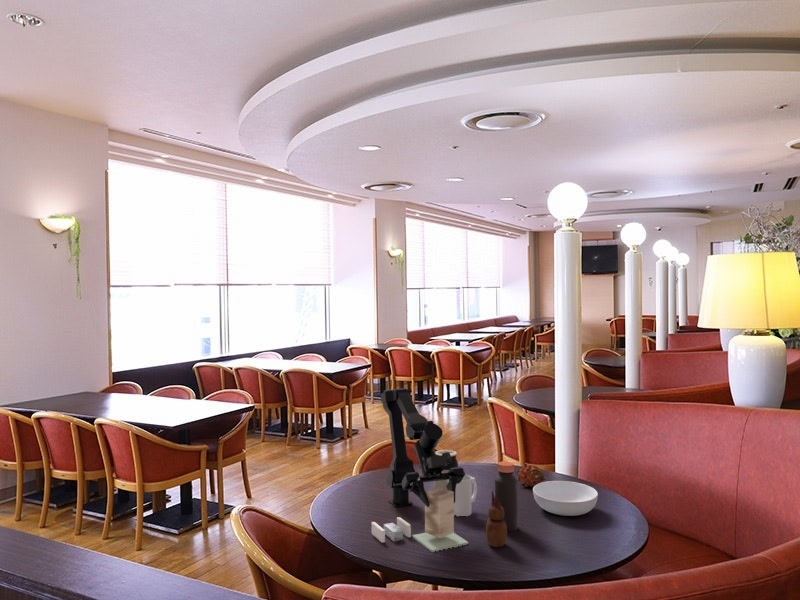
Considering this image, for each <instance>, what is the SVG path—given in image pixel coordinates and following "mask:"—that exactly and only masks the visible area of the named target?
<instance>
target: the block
mask: <svg viewBox="0 0 800 600" xmlns="http://www.w3.org/2000/svg"><path fill="white" fill-rule="evenodd" d="M425 492H426V495H427V498H428V501H429V507H427V506H426V505H425V504H424V533H428V534H430V535H433V536H436V537H438V538H442V537H444V536H447V535H449V534H451V533H455V515H454V492H452V491H449V490H446V489H443V488H440V487H438V488H435V487H434V488H432V489H430V490H427V491H426V490H425Z"/></svg>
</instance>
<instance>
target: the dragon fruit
mask: <svg viewBox="0 0 800 600" xmlns="http://www.w3.org/2000/svg"><path fill="white" fill-rule="evenodd" d="M516 474H517V476H516V479H517V482H520V483H523V486H525V487H527V488H528V487H531V488H532V489H533V488H534V486H535V485H537V484H539V483H542V482H545V481H546V477H545V475H544V473H543V471H542V470H541V469H540V468H539V467H538V466H537V465H533V464H527V466H525V467H523V468H521V469H518V470H517V472H516Z"/></svg>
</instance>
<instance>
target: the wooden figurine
mask: <svg viewBox="0 0 800 600" xmlns="http://www.w3.org/2000/svg"><path fill="white" fill-rule="evenodd" d="M487 513H488V519H487V521H486V524H485V536H486V540H487V544H489V546H491V547H494V548H502V547H503V546H504V545H505V544H506V541H507V538H508V532H507V526H506V523H505V521H504V520H503V518H504V509H503V507H502V506H501V505H500V502H499V501H498V499H497V498H496V494H495V493H494V491H491V505H490V506H489V507H488V511H487Z"/></svg>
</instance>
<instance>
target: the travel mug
mask: <svg viewBox="0 0 800 600" xmlns="http://www.w3.org/2000/svg"><path fill="white" fill-rule="evenodd" d="M446 452H449V453H450V456H451V460H452V462H451V463H449V464H447V466H444V470H443V471H441V472H442V473H448V472H449V470H450V468H455V467H459V463H458V459H457V455H458V453H457V451H455V450H451V449H441V450H436V451H435V453H436V455H438V456H440V455H442V454H443V453H446ZM447 484H448V482H447V480H439V481H434V489H435V488H438V487H440V488H443V489H446V490H447V487H446V486H447Z"/></svg>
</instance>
